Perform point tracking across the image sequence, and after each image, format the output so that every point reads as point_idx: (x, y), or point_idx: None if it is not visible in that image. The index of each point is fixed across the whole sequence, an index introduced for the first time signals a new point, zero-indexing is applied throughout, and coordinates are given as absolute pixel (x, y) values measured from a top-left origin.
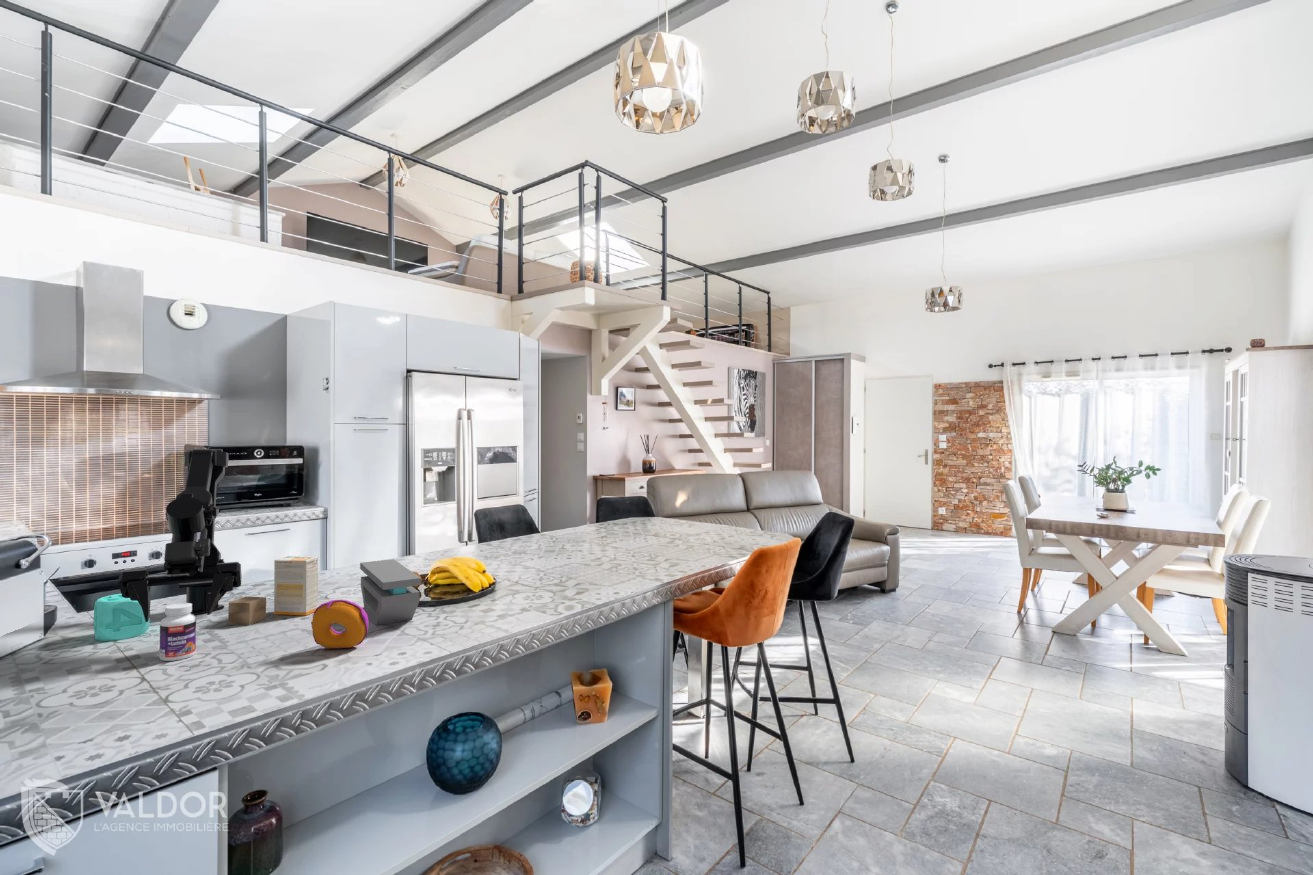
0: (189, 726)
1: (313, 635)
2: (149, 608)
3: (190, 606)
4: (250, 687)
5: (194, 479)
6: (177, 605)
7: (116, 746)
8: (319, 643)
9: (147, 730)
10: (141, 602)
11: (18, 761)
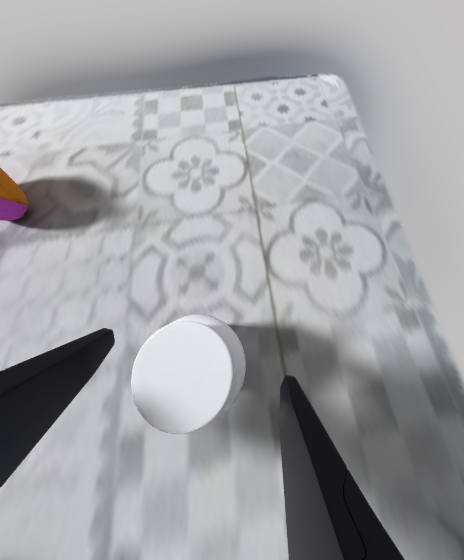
0: (235, 100)
1: (13, 202)
2: (290, 467)
3: (146, 342)
4: (166, 147)
5: None
6: (186, 376)
7: (287, 98)
8: (26, 198)
9: (265, 111)
10: (344, 467)
11: (352, 114)
